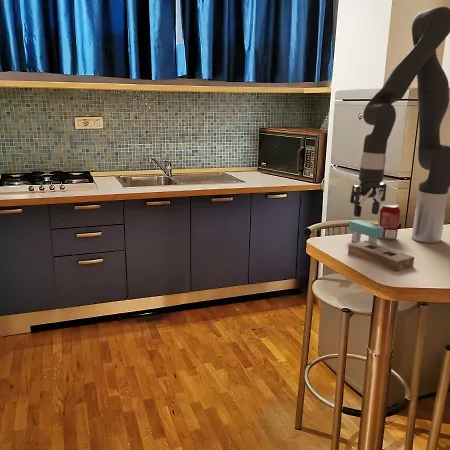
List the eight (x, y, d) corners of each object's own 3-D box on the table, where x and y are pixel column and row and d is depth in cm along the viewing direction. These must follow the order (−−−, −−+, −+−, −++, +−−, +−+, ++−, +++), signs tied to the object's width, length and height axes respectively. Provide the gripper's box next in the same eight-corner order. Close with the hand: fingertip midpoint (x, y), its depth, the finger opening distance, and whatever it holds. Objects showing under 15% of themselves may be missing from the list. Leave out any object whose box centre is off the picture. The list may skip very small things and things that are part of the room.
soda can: (398, 241, 156) (402, 207, 153) (377, 239, 157) (381, 206, 154) (394, 235, 163) (399, 203, 159) (375, 234, 164) (379, 202, 161)
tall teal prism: (355, 238, 158) (357, 219, 156) (380, 247, 149) (383, 227, 147) (347, 240, 156) (349, 221, 154) (372, 249, 147) (375, 229, 145)
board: (365, 249, 147) (366, 240, 146) (413, 266, 133) (414, 257, 132) (347, 253, 143) (348, 244, 142) (395, 271, 128) (396, 261, 128)
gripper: (377, 164, 152) (371, 210, 156) (348, 165, 145) (342, 214, 149) (396, 167, 146) (389, 215, 150) (366, 169, 139) (360, 220, 143)
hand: (365, 215), depth 150 cm, fingers open, 8 cm apart
